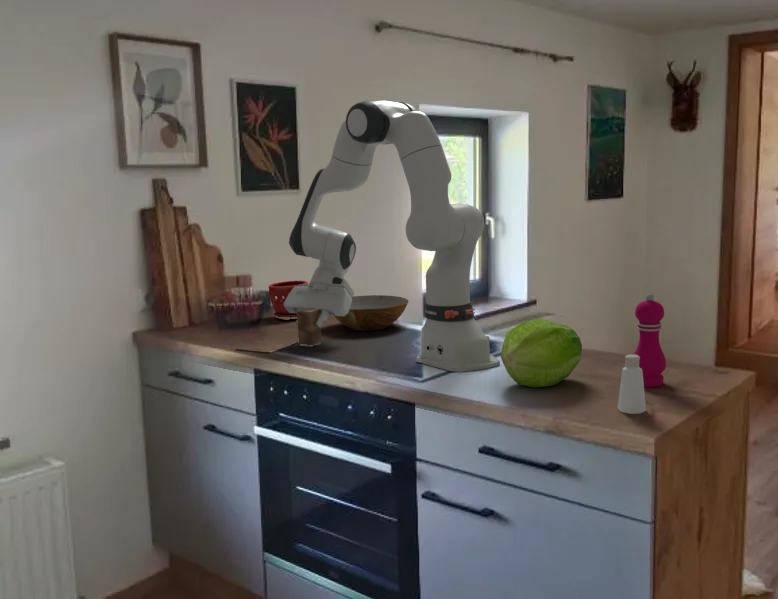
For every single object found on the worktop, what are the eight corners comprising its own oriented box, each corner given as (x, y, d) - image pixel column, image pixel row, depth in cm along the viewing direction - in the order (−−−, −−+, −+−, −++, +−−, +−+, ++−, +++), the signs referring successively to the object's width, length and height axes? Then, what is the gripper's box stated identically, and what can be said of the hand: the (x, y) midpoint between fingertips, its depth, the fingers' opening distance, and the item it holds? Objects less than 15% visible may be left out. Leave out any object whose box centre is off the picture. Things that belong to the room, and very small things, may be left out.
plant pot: (299, 313, 279) (297, 278, 277) (317, 318, 268) (315, 282, 266) (264, 318, 273) (262, 282, 271) (280, 323, 262) (278, 287, 260)
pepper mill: (627, 379, 182) (628, 291, 179) (660, 378, 182) (661, 290, 178) (636, 388, 175) (637, 296, 171) (670, 387, 175) (672, 295, 171)
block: (321, 344, 229) (319, 308, 228) (312, 347, 226) (310, 311, 224) (308, 343, 232) (306, 307, 230) (299, 346, 228) (297, 310, 226)
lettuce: (545, 397, 167) (485, 394, 178) (602, 374, 182) (544, 373, 194) (536, 328, 166) (477, 329, 177) (595, 310, 181) (536, 313, 193)
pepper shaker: (611, 408, 161) (612, 354, 160) (632, 404, 164) (633, 351, 162) (630, 415, 156) (631, 360, 155) (652, 411, 159) (653, 356, 157)
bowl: (315, 334, 243) (313, 308, 242) (345, 318, 267) (344, 294, 265) (395, 337, 235) (394, 310, 234) (419, 320, 259) (418, 295, 257)
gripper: (290, 277, 236) (272, 316, 230) (350, 280, 227) (333, 321, 220) (300, 290, 241) (282, 329, 234) (359, 293, 231) (343, 333, 225)
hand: (307, 325), depth 227 cm, fingers closed on block, 4 cm apart
